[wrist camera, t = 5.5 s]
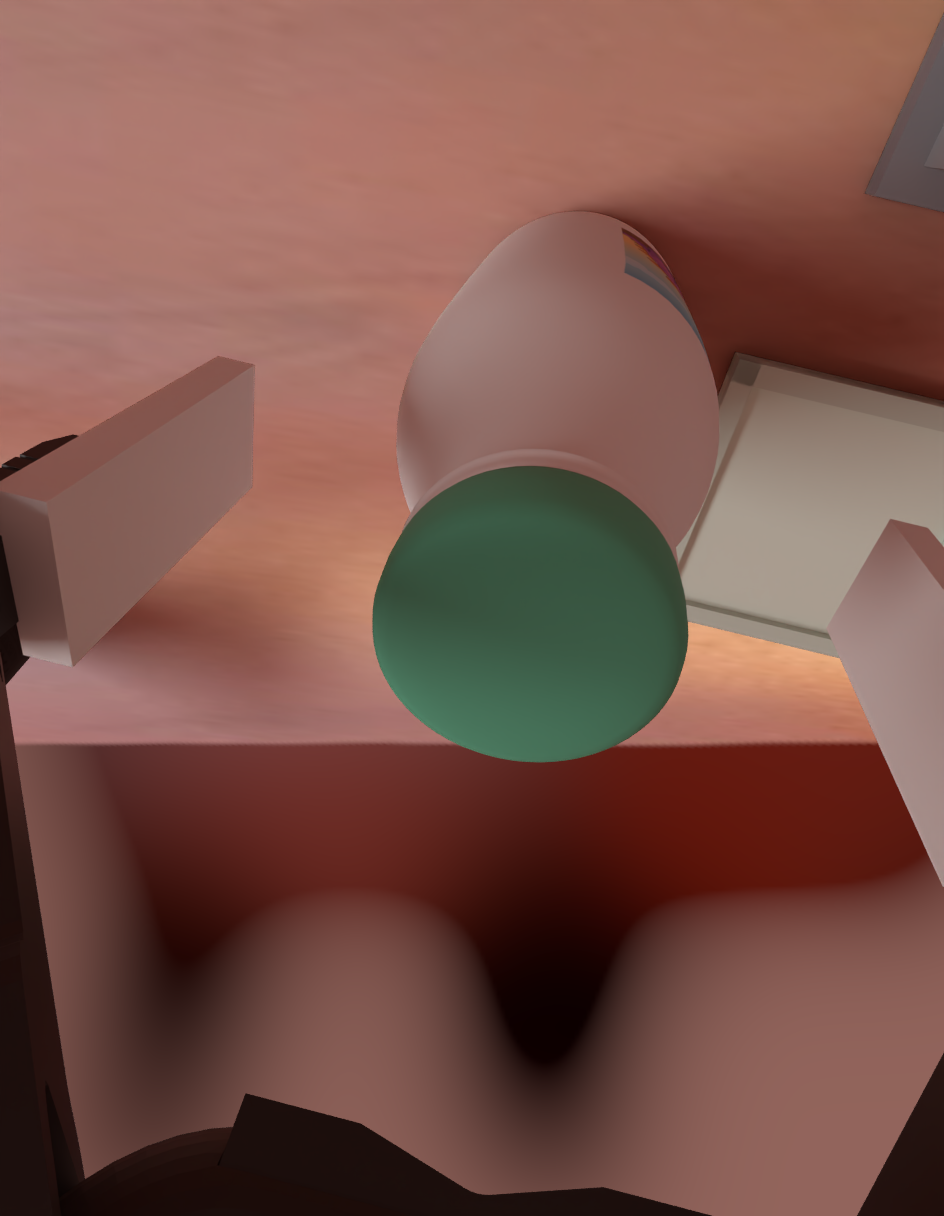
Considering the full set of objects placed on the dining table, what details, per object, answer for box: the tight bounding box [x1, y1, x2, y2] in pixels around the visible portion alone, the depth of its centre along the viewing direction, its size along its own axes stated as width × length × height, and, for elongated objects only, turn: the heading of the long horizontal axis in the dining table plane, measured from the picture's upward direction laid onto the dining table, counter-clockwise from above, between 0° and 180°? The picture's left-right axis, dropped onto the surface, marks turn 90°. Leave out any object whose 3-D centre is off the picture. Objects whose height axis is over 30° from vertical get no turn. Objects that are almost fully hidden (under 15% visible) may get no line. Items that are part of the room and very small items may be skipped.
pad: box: [676, 352, 944, 658], centre depth 29 cm, size 11×11×1 cm
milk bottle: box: [373, 211, 719, 762], centre depth 18 cm, size 8×8×20 cm
